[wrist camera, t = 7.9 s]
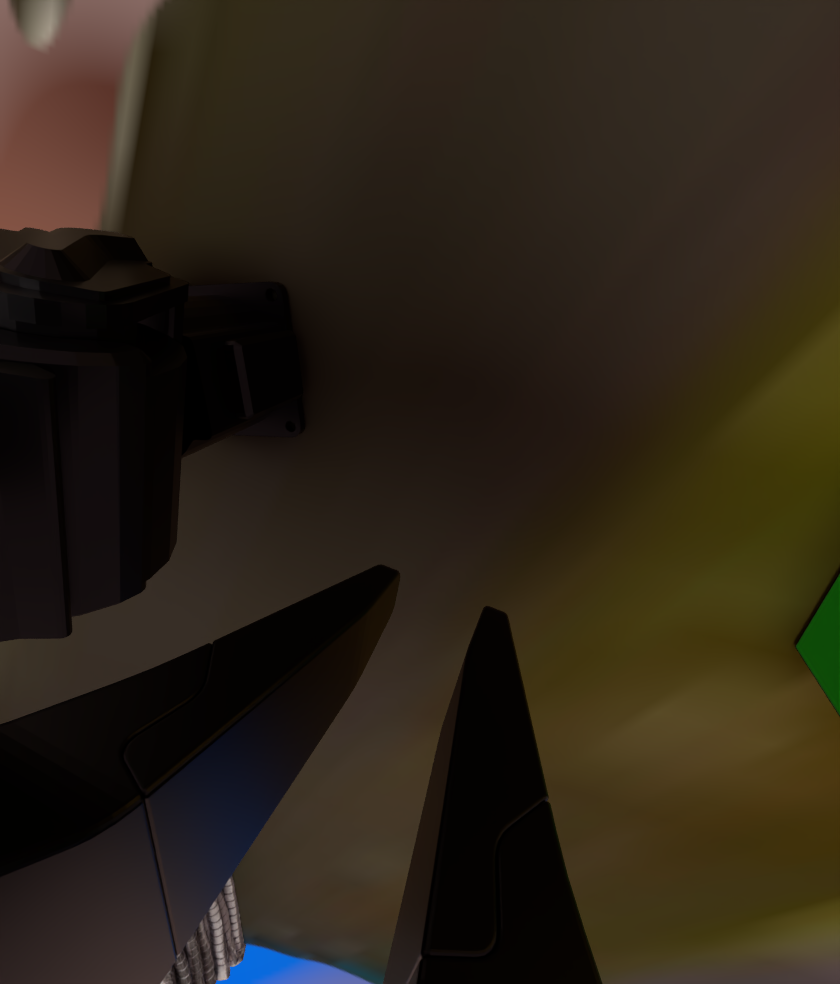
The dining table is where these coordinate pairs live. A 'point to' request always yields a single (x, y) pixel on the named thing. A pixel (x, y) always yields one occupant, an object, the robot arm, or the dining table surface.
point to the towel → (212, 944)
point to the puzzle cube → (825, 645)
